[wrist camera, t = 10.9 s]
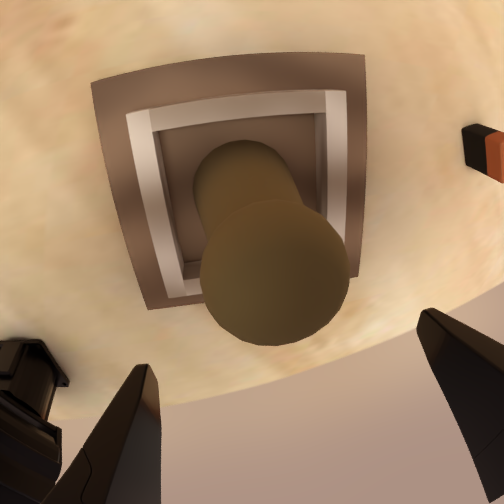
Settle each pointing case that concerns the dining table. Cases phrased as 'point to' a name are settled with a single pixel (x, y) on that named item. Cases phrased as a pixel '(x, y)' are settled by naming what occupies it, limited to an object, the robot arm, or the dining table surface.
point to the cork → (265, 248)
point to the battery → (485, 150)
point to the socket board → (218, 133)
